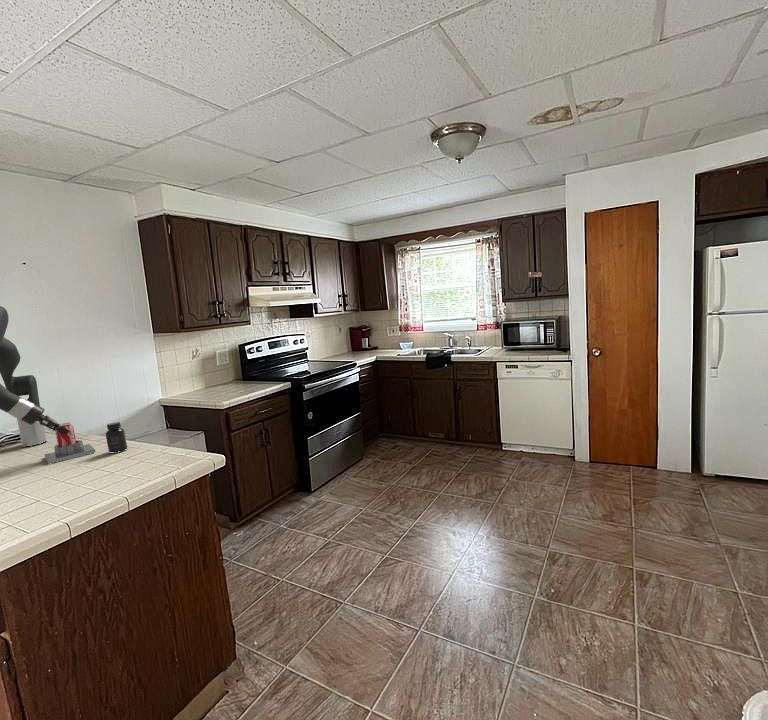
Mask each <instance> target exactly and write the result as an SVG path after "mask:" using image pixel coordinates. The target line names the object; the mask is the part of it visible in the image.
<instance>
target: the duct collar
mask: <svg viewBox="0 0 768 720" xmlns="http://www.w3.org/2000/svg"><path fill="white" fill-rule="evenodd" d="M53 449H54V451H53V452H49V453H44V459H45V458H46V459H45V461H46V460H47V461H46V463H47V462H48V463H47V465H48V464H49V465H51V464H50V463H53V464H55V463H54V462H57V461H61V462H63V461H62V460H65V461H67V460H66V459H69V460H72V459H71V458H73V459H76V458H75V457H77V458H80V457H79V456H81V457H84V456H83V455H85V456H87V455H86V454H89V455H91V454H90V453H93V454H95V453H94V452H96V449H95V448H94V447H93V446H92V445H91V444H90V443H87V444H86V443H85V444H84V443H83V440H81V439H80V440H79V439H76V444H73V445H69V446H64V447H58V444H56V445H54V446H53ZM57 463H58V462H57Z"/></svg>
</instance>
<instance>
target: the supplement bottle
mask: <svg viewBox="0 0 768 720" xmlns="http://www.w3.org/2000/svg"><path fill="white" fill-rule="evenodd" d="M106 428H107V430H106V432H105V438H106V439H105V440H106V445H107V450H108V453H109V452H118V451H123V450H125V449H127V450H128V444H127V439H126V437H127V436H126V432H125V428H122V425H121V421H118V422H117V421H116V422H112V423H110V422H109V423H107V424H106ZM125 451H126V450H125ZM123 452H124V451H123Z"/></svg>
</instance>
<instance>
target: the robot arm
mask: <svg viewBox="0 0 768 720" xmlns="http://www.w3.org/2000/svg"><path fill="white" fill-rule="evenodd" d="M8 324H9V313H8V310H7V309H6V308H5V307H4V306H0V377H1V378H2V381H3V384H4V385H3V384H1V383H0V410H1V411H3V412H5V413H7V414H9V415H10V416H12V417H13V418H16V421H17V425H18V429H19V436H20V439H21V445H22V447H23V446H30V445H36V444H40V443H43V442H45V441H47V442H48V440H47V436H46V435H47V434H46V430H45V428H46V429H49V430H52V431H54V432H55V431H58V432H60V433H62V434H64V435H67V433H68V432H69V430H67V429H65V428H63V427H61V426H60V425H59V424H60V423H58V421H56V420H55V419H54V418H52V417H50V416H48V414H46V415H44V413H45V408H44V407H41V403H40V397H39V390H38V382H37V378H36V376H34V375H32V374H28V375H20V376H13V375H14V372H15V370H16V368H17V367H19V366H18V365H19V364H20V362H21V355H20V353H19V350H18V348H17V346H16V345H15V344H14V343H13V342H12V341H11V340H9V339H8V338H6V337H5V334H6V330H7V328H8ZM23 396H28V398H27V399H25V398H23ZM43 444H44V443H43ZM40 445H41V444H40ZM36 446H37V445H36Z"/></svg>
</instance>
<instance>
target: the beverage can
mask: <svg viewBox="0 0 768 720" xmlns="http://www.w3.org/2000/svg"><path fill="white" fill-rule="evenodd" d="M58 424H59V425H60V426H61V427H63V428H65V429H67V430H69V432H68V433H67V435H64V434H62V433H60V432H58V431H54V432H55V437H56V440H57V441H56V442H57V445H58V447H64V446H69V445H73V444H76V440H77V438H76V435H75V434H76V433H75V429H74V425H73V424H72V422H64V423H58Z"/></svg>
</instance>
